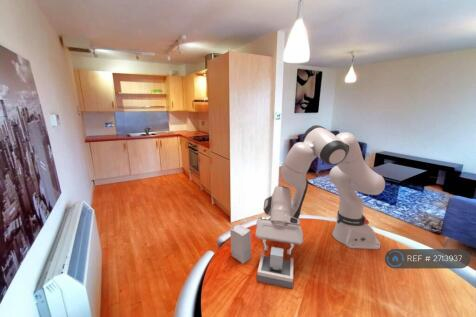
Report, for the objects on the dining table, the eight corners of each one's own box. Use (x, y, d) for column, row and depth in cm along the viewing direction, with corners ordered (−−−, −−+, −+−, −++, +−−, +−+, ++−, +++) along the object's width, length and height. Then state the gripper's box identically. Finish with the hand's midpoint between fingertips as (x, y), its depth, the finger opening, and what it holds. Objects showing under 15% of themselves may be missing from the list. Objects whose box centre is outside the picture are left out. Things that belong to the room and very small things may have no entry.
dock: (292, 266, 95) (293, 258, 93) (292, 288, 83) (293, 279, 82) (261, 260, 98) (261, 252, 97) (257, 281, 87) (257, 271, 86)
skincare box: (251, 258, 100) (252, 230, 96) (242, 264, 96) (242, 235, 92) (239, 249, 106) (239, 223, 102) (230, 255, 101) (229, 228, 98)
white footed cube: (282, 264, 92) (283, 248, 90) (281, 273, 87) (282, 257, 85) (271, 262, 93) (271, 246, 91) (269, 271, 88) (270, 254, 86)
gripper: (256, 214, 95) (252, 247, 89) (303, 221, 90) (302, 255, 84) (258, 218, 101) (253, 249, 94) (302, 224, 96) (301, 257, 89)
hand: (277, 252), depth 89 cm, fingers open, 8 cm apart
